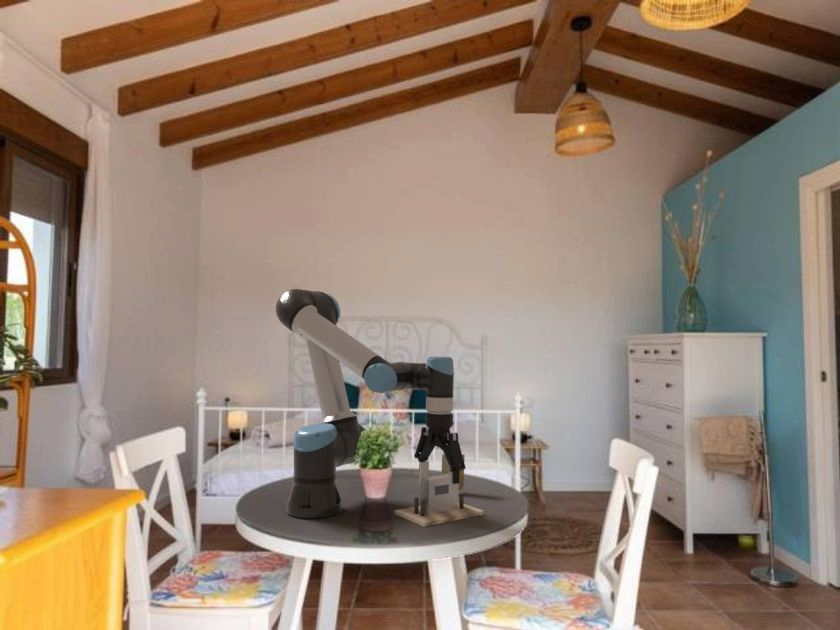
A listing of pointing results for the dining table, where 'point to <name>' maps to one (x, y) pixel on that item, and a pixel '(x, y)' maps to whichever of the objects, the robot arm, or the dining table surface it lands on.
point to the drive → (437, 494)
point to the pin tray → (433, 519)
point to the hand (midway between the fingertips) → (438, 490)
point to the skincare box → (446, 471)
